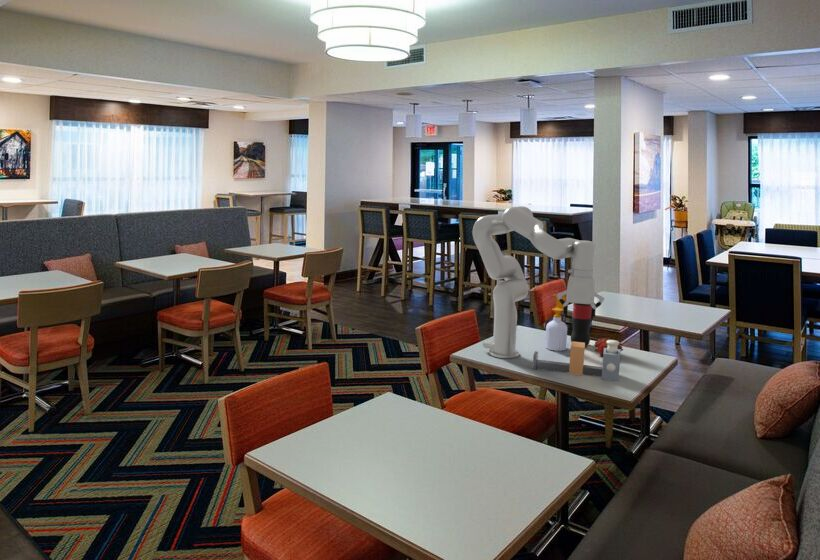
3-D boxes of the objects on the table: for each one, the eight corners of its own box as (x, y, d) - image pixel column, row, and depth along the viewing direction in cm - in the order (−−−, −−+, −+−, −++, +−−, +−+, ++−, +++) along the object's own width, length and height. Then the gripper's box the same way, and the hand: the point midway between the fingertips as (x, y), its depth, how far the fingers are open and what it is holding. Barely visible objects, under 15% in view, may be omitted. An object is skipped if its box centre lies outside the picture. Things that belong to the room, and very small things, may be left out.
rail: (532, 369, 234) (533, 354, 233) (534, 365, 238) (534, 351, 237) (604, 378, 225) (605, 362, 224) (604, 373, 230) (605, 359, 229)
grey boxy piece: (601, 379, 224) (603, 354, 222) (601, 372, 232) (603, 347, 230) (618, 381, 222) (620, 355, 220) (618, 374, 230) (620, 349, 228)
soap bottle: (541, 348, 261) (544, 294, 257) (550, 343, 268) (553, 290, 264) (560, 352, 256) (564, 297, 251) (569, 347, 263) (572, 293, 258)
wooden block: (568, 373, 228) (570, 346, 226) (570, 368, 235) (571, 341, 233) (582, 375, 227) (584, 347, 225) (583, 369, 233) (585, 342, 231)
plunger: (605, 355, 224) (606, 342, 223) (605, 351, 228) (606, 339, 227) (618, 356, 223) (619, 343, 222) (618, 353, 227) (619, 340, 226)
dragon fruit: (590, 356, 256) (619, 364, 252) (592, 350, 248) (622, 358, 245) (595, 338, 259) (623, 346, 255) (596, 332, 251) (626, 339, 248)
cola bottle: (587, 342, 271) (592, 278, 266) (591, 348, 263) (596, 281, 257) (568, 341, 272) (573, 277, 266) (571, 347, 264) (576, 281, 258)
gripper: (557, 273, 223) (554, 317, 226) (606, 276, 218) (602, 321, 221) (559, 270, 230) (556, 313, 233) (606, 273, 225) (602, 317, 228)
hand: (578, 317), depth 227 cm, fingers open, 9 cm apart
